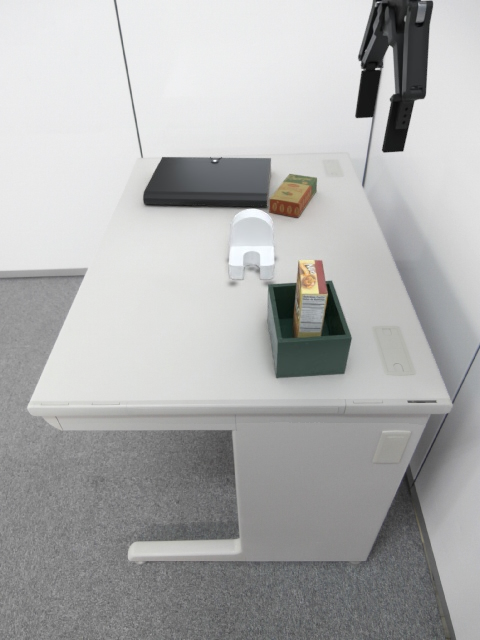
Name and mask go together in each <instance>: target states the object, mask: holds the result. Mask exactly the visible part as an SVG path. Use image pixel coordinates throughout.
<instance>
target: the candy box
mask: <svg viewBox="0 0 480 640" xmlns="http://www.w3.org/2000/svg"><path fill="white" fill-rule="evenodd" d="M326 281H327V280H326V276H325V270H324V262H323V260H322V259H321V260H320V259H299V260H298V261H297V273H296V282H295V283H296V295H295V306H294V317H293V338H302V337H318V336H321V335H322V328H323V322H324V316H325V309H326V303H327V296H328V292H327V286H326Z"/></svg>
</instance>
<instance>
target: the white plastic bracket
mask: <svg viewBox="0 0 480 640" xmlns="http://www.w3.org/2000/svg"><path fill="white" fill-rule="evenodd" d="M228 256H229V257H228V273H229V274H228V275H229V278H230V279H231V280H244V274H245V273H244V272H245V267H247V266H250V265H253V266H257V267H259V280H272V279H274V278H275V225H274V222H273V219H272V218H271V216H270V215H269V214H268V213H266V212H265V211H264V210H261V209H259V208H247V209H243V210H241V211H239V212H238V213H236V214H235V216H233V218H232V220H231V223H230V229H229V255H228Z"/></svg>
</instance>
